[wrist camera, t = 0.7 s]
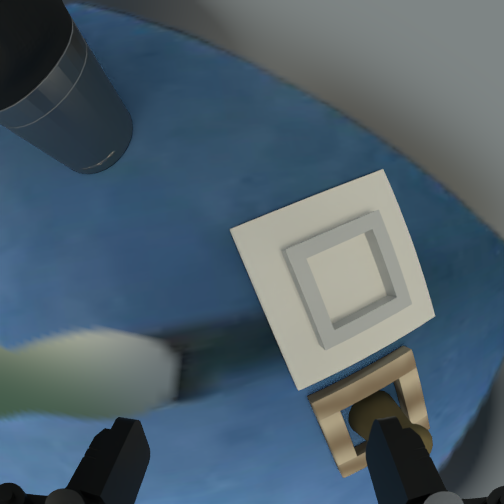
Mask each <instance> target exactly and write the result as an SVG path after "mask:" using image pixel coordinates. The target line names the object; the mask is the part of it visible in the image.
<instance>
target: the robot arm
mask: <svg viewBox="0 0 504 504" xmlns="http://www.w3.org/2000/svg"><path fill="white" fill-rule="evenodd" d="M0 124H1V125H3V126H4V127H6V128H7V129H9V130H10V131H12V132H13V133H15V134H17V135H18V136H20V137H21V138H23V139H24V140H26V141H28V142H29V143H31V144H32V145H34V146H35V147H37V148H39V149H40V150H42V151H43V152H45V153H47V154H48V155H50V156H51V157H53V158H54V159H56V160H58V161H59V162H61V163H63V164H64V165H66V166H67V167H69V168H71V169H72V170H74V171H76V172H79V173H82V174H92V173H97V172H100V171H102V170H105V169H106V168H108V167H110V166H111V165H113V164H114V163H115V162H116V161H117V160H118V159H119V158H120V157H121V156H122V154H123V153H124V152H125V150H126V148H127V146H128V145H129V142H130V139H131V136H132V120H131V117H130V114H129V112H128V111H127V109H126V107H125V106H124V104H123V102H122V101H121V99H120V97H119V96H118V94H117V92H116V91H115V89H114V87H113V86H112V84H111V83H110V81H109V79H108V78H107V76H106V74H105V73H104V71H103V69H102V68H101V66H100V64H99V63H98V61H97V59H96V58H95V56H94V54H93V53H92V51H91V49H90V48H89V46H88V44H87V43H86V41H85V39H84V38H83V36H82V35H81V33H80V31H79V30H78V28H77V26H76V25H75V23H74V21H73V19H72V18H71V16H70V14H69V13H68V11H67V9H66V7H65V6H64V4H63V2H62V0H0ZM149 460H150V448H149V445H148V442H147V439H146V436H145V433H144V431H143V428H142V425H141V422H140V421H139V420H135V419H128V418H122V417H118V418H117V419H116V420H115V422H114V424H113V426H112V428H111V429H106V428H105V429H103V430H102V431H101V432H100V433H99V434H97V435H96V436H95V437H94V439H93V441H92V442H91V444H90V446H89V449H87V451H86V453H85V457H83V458H82V460H81V462H80V464H79V466H78V467H77V469H76V471H75V473H74V475H73V476H72V478H71V480H70V482H69V484H68V485H67V487H66V488H65V489H58V490H55V491H53V492H51V493H50V494H49V495H48V496H42V495H32V494H26V493H25V492H24V491H23V490H22V489H21V487H19V486H18V485H16V484H14V483H4V484H1V485H0V504H134V503H135V500H136V497H137V494H138V492H139V489H140V486H141V483H142V480H143V478H144V475H145V472H146V469H147V466H148V464H149ZM366 462H367V466H368V469H369V473H370V476H371V479H372V483H373V486H374V490H375V493H376V497H377V500H378V504H504V486H501V487H498V488H496V489H495V490H493V491H492V492H491V493H490V495H489V496H488V497H483V498H475V499H461V498H460V497H459V496H458V495H456V494H454V493H452V492H448V491H447V490H446V488H445V486H444V484H443V482H442V480H441V478H440V476H439V474H438V471H437V469H436V467H435V465H434V463H433V461H432V459H431V457H430V455H429V453H428V451H427V449H425V445H424V443H423V441H422V439H421V437H420V435H419V434H417V433H416V432H415V431H414V430H413V429H411V428H410V427H409V428H404V429H403V428H402V426H401V424H400V422H399V420H398V418H397V417H396V416H392V417H386V418H380V419H375V420H374V421H373V424H372V428H371V431H370V435H369V439H368V442H367V445H366Z"/></svg>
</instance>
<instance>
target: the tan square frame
mask: <svg viewBox="0 0 504 504" xmlns="http://www.w3.org/2000/svg"><path fill="white" fill-rule="evenodd" d="M392 382H394V385H395V389H396V392H397V396H398V399H399V403H400V407H401V410H402V411H403V413H404V414H405V415H406V416H407V418H408V419H409V420H410V421H411V423H412V424H418V425H421V426H423V427H425V428H426V429H427V430H429V429H430V427H429V422H428V416H427V412H426V407H425V402H424V397H423V393H422V389H421V384H420V380H419V376H418V372H417V368H416V364H415V360H414V356H413V352H412V349H409V348H407V347H405V346H402V347H400V348H398V349H397V350H395V351H393V352H392V353H390V354H388V355H386V356H385V357H383V358H381V359H379V360H378V361H376V362H374V363H372V364H370V365H369V366H367V367H365V368H363V369H361V370H359V371H357V372H356V373H354V374H352V375H350V376H348V377H346V378H344V379H342V380H340V381H338V382H336V383H334V384H332V385H330V386H328V387H326V388H324V389H322V390H320V391H317V392H315V393H313V394H311V395H309V396H307V397H308V399H309V402H310V404H311V407H312V409H313V411H314V414H315V416H316V418H317V421H318V423H319V425H320V428H321V430H322V432H323V435H324V437H325V439H326V442H327V444H328V446H329V449H330V451H331V453H332V456H333V458H334V460H335V463H336V465H337V467H338V470H339V471H340V473H341V475H342V477H343V478H345V477H347V476H349V475H351V474H353V473H355V472H357V471H359V470H361V469H363V468H365V467H367V462H366V445H367V442H368V441H365V442H363V443H362V444H360V445H358V446H356V447H354V446H353V444H352V441H351V438H350V436H349V433H348V430H347V428H346V425H345V423H344V420H343V417H342V415H341V412H340V411H341V410H343V409H345V408H347V407H349V406H351V405H353V404H354V403H356V402H358V401H360V400H362V399H364V398H366V397H368V396H369V395H371V394H373V393H375V392H377V391H378V390H380V389H382V388H384V387H385V386H387V385H389V384H390V383H392Z"/></svg>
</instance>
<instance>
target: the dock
mask: <svg viewBox="0 0 504 504" xmlns="http://www.w3.org/2000/svg"><path fill="white" fill-rule="evenodd" d="M230 232H231V235H232V237H233V240H234V242H235V244H236V247H237V249H238V252H239V254H240V256H241V259H242V261H243V264H244V266H245V268H246V271H247V273H248V275H249V278H250V280H251V283H252V285H253V287H254V290H255V292H256V294H257V297H258V299H259V302H260V304H261V306H262V309H263V311H264V313H265V316H266V318H267V320H268V323H269V325H270V327H271V330H272V332H273V334H274V337H275V339H276V341H277V344H278V346H279V348H280V351H281V353H282V355H283V358H284V360H285V362H286V365H287V367H288V369H289V372H290V374H291V376H292V379H293V381H294V383H295V386H296V388H297V389H298V391H299V390H301V389H303V388H306V387H308V386H310V385H312V384H314V383H316V382H318V381H321V380H323V379H325V378H327V377H329V376H331V375H333V374H335V373H337V372H339V371H341V370H343V369H345V368H347V367H349V366H351V365H353V364H354V363H356V362H358V361H360V360H362V359H364V358H366V357H368V356H369V355H371V354H373V353H375V352H377V351H378V350H380V349H382V348H384V347H386V346H387V345H389V344H391V343H392V342H394V341H396V340H398V339H399V338H401V337H403V336H404V335H406V334H408V333H409V332H411V331H413V330H414V329H416V328H417V327H419V326H421V325H422V324H424V323H425V322H427V321H428V320H430V319H432V318H433V317H435V314H434V310H433V307H432V303H431V300H430V296H429V293H428V289H427V286H426V282H425V279H424V276H423V273H422V270H421V266H420V263H419V260H418V257H417V254H416V251H415V249H414V246H413V243H412V240H411V237H410V234H409V232H408V229H407V226H406V224H405V221H404V218H403V216H402V213H401V211H400V208H399V206H398V203H397V201H396V198H395V196H394V193H393V191H392V189H391V186H390V184H389V182H388V179H387V177H386V175H385V172H384V170H383V169H382V170H379V171H377V172H374V173H371V174H369V175H366V176H363V177H361V178H358V179H355V180H353V181H350V182H348V183H345V184H342V185H340V186H337V187H335V188H332V189H329V190H327V191H324V192H322V193H319V194H316V195H314V196H311V197H309V198H306V199H304V200H301V201H299V202H296V203H294V204H291V205H289V206H286V207H283V208H281V209H278V210H276V211H273V212H271V213H269V214H266V215H264V216H261V217H259V218H256V219H254V220H251V221H249V222H246V223H244V224H241V225H239V226H237V227H234V228H232V229H230Z"/></svg>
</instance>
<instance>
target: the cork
mask: <svg viewBox="0 0 504 504" xmlns="http://www.w3.org/2000/svg"><path fill="white" fill-rule="evenodd" d="M392 416H396V417H397V418H398V420H399V422H400V424H401V426H402V428H403V429H404V428H409V427H410V428H411V429H413V430H414V431H415V432H416V433H417V434H419V435H420V437H421V439H422V441H423V443H424V445H425V449H427V451H428V453H429V454H430V453H431V450H432V446H433V443H432V436H431V434H430V433H429V431H428V430H427V429H426V428H425V427H423V426H421V425H418V424H412V423H411V421H410V420H409V419H408V418H407V416H406V415H405V414H404V413H403V411H402V410H401V409H400V407H399V406H398V405H397V404H396V402H395V401H394V400H393V399H392V397H391V396H390V395H389V394H388V393H386V392H384V391H379V390H378V391H377V392H375V393H373V394H371V395H369V396H368V397H366V398H364V399H362V400H360V401H358V402H356V403H354V405H353V406H352V408H351V410H350V412H349V419H348V420H349V424H350V427H351V428H352V429H353V430H354V431H355V432H356V433H358V434H359V435H360V436H361V437H363V438H364V439H365V440H367V441H368V439H369V435H370V431H371V428H372V424H373V421H374V420H375V419H380V418H386V417H392Z"/></svg>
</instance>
